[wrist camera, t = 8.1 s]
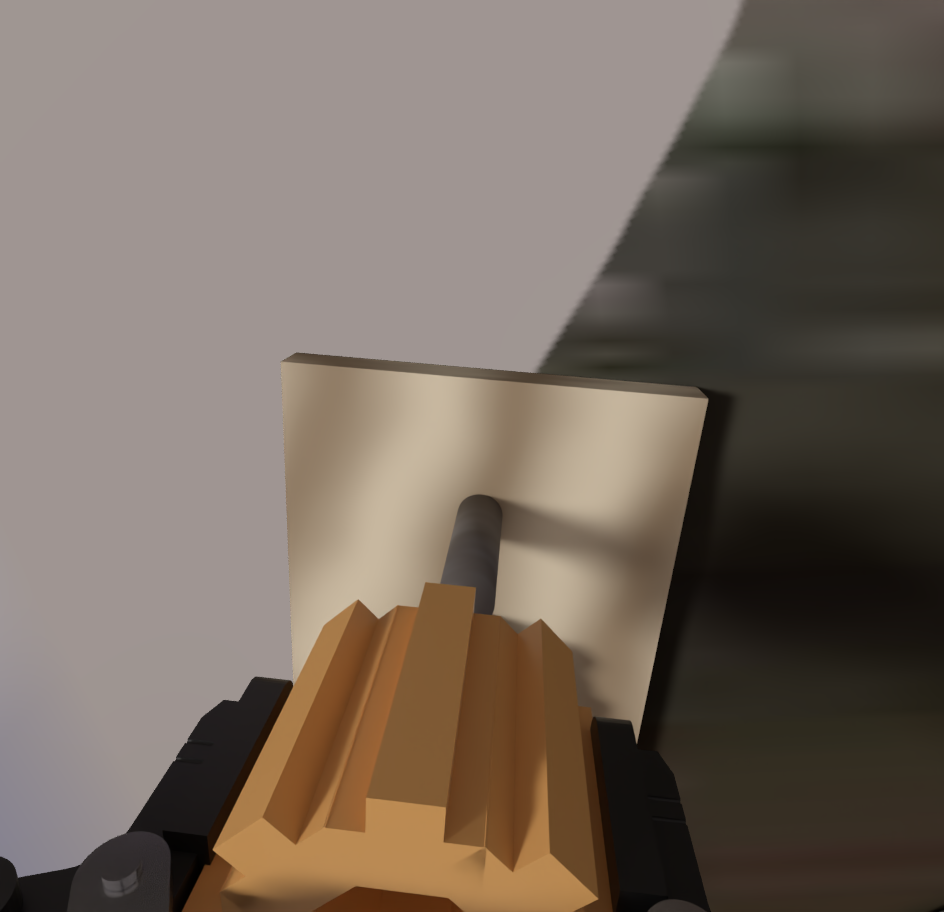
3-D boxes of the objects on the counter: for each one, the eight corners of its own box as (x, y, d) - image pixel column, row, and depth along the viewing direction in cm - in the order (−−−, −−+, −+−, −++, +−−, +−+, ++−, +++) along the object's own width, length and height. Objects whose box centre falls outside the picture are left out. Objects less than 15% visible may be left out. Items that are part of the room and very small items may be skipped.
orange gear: (608, 601, 12) (659, 832, 8) (569, 832, 15) (589, 1122, 10) (296, 568, 13) (161, 773, 8) (303, 799, 15) (201, 1065, 10)
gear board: (696, 387, 22) (768, 460, 15) (621, 764, 28) (650, 932, 21) (296, 352, 23) (201, 408, 16) (307, 727, 29) (242, 878, 22)
